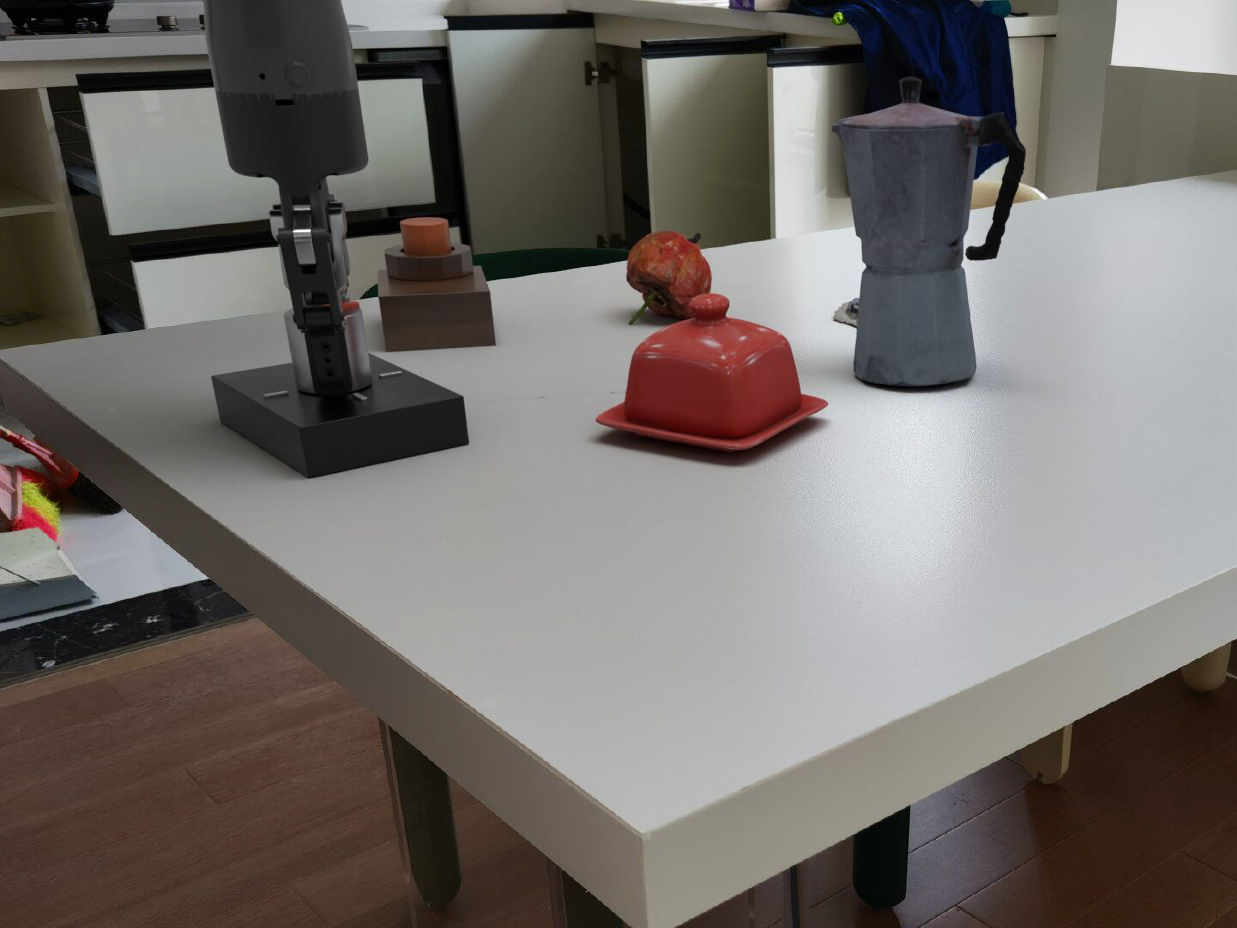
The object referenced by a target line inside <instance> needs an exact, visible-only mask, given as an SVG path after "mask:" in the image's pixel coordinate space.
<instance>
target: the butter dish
mask: <svg viewBox="0 0 1237 928" xmlns="http://www.w3.org/2000/svg"><path fill="white" fill-rule="evenodd" d="M689 308H690V309H691V310H692V311H693V312H694V315H693V316H694V317H693V318H687V319H683V320H682V321H677V322H675V323H671V324H670V325H667V326H665V327H662V328H661V329H658V330H657V331H655V332H653V333H652V334H651V335H649V336H647V337H646V338H644V339H643V341H641V342H640V343H639V345H637V346H636V348H635V349H634V351H633V353H632V355H631V360H630V364H629V368H628V376H627V382H626V388H625V389H626V390H625V397H624V401H623V402H621V403H619V404H617V405H616V404H615V406H612V407H611V408H609V409H607V410H605V411H603V412H602V413H600V414H599V415H597V416H596V417H595V423H597V424H599V425H601V426H605V427H608V428H611V429H616V430H618V431H619V430H620V431H625V432H630V433H634V434H636V435H637V436H641V437H644V438H645V437H646V438H651V439H656V440H661V441H665V442H666V441H667V442H672V443H679V444H684V445H689V446H695V447H700V448H704V449H710V450H716V451H721V452H727V453H732V452H733V453H734V452H737V451H742V450H748V449H750V448H754V447H757V446H758V445H761V444H762V443H764V442H765V441H767V440H769V439H770V438H772V437H774V436H775V435H777V434H779V433H781V432H783V431H784V430H786V429H789V428H790V427H792V426H794V425H796V424H797V423H799V422H801V421H803V420H805V419H807V418H808V417H811V416H812V415H815V414H817V413H819V412H821V411H822V410H824V409H825V408H827V407H828V405H829V402H828V401H827V400H826V399H824V398H820V397H817V396H814V395H809V394H805V393H802V390H801V384H800V379H799V374H798V369H797V366H796V363H795V362H796V361H795V357H794V353H793V350H792V347H791V344H790V341H789V340H788V338H786V336H785V335H783V334H782V333H780V332H779V331H777V330H775V329H774V328H770V327H768V326H764V325H762V324H759V323H755V322H753V321H749V320H745V319H741V318H734V317H728V316H727V313H728V311H729V308H730V299H729V298H727V296H725V295H723V294H719V293H712V292H710V293H707V294H701V295H698V296H696V297H694V298H693V299H692V300H691V301H690V302H689Z"/></svg>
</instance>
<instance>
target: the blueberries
mask: <svg viewBox="0 0 1237 928" xmlns="http://www.w3.org/2000/svg"><path fill="white" fill-rule="evenodd" d="M859 298H860V297H855V298H853V299H852V300H851V301H850V300H849V301H847V302H843V303H841V306H839V307H837V309H835V310H834V315H833V316H834V317H832V318H833V319H832V320H837V321H838V322H841V323H846V324H849V325H853V326H854V327H857V320H858V309H859Z"/></svg>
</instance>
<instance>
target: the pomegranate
mask: <svg viewBox="0 0 1237 928" xmlns="http://www.w3.org/2000/svg"><path fill="white" fill-rule="evenodd" d="M700 240H702V235H701V233H700V232H697V233H695V234H694V235H693V236H692V237H690V238H687V237H685V235H684V234H682V233H679V232H676V231H672V230H659V231H653V232H651V233H649V234H647V235H645V236H643V237H642V238H641V239H640V240H639V241H637V242H636V243H635V244H634V245H633V246H632V248H631V249H630V250H629V253H628V257H627V261H626V275H625V276H626V277H625V279H626V282H627V283H628V285H629V286H630V287H631V288H632V289H633V290H635V291H637V292H638V293H639V294H641V297H642V301H643V302H644V303H643V304H642V306H641V307H640V309H639V310H638V311H637V312H636V313H635V314H634V316H633V317H632V318H631V319H630V320H629V322H628V325H629V326H632V325H633V324H634V323H635V322H636V321H637V320H638V318H639V317H641V315H643V314H644V313H645V311H646V309H647V308H648V309H649V310H650V311H652V312H654V313H656V314H657V315H662V316H670V317H676V318H677V319H680V320H687V319H690V318H691V317H693V316H695V314H694V312H693V311H692V310H691V309H690V308H689V302H690V301H691V300H692V299H693V298H694V297H696V296H698V295H701V294H707V293H711V291H712V280H713V277H712V276H713V275H712V270H711V265H710V263H709V262H708V260H707V258H706V257H705V256H703V253H702V251H701V248H700V245H698V243H699V241H700Z"/></svg>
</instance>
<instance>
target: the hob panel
mask: <svg viewBox="0 0 1237 928" xmlns="http://www.w3.org/2000/svg"><path fill="white" fill-rule="evenodd" d="M368 356H369V362H370V369H371V376H372V383H371V385H369V386H368V387H365V388H363V389H360V390H357V391H352V392H350V393H349V394H346V395H332V396H320V395H318V394H311V393H306V392H302V391H300V390H298V389H297V387H296V382H295V376H294V371H293V365H292V362H288V363H287V362H286V363H282V364H275V365H268V366H263V367H256V368H250V369H245V370H237V371H233V372H226V373H219V374H214V375H213V374H212V375H211V376H210V378H211V383H212V388H213V393H214V399H215V403H216V407H217V408H216V409H217V412H218V417H219V422H220V423H221V424H223V425H225V426H226V427H228V428H229V429H231V430H233V431H235V432H236V433H237V434H239V435H241V436H242V437H243V438H245V439H247V440H248V441H250V442H252V443H253V444H255V445H256V446H258V447H259V448H260V449H262V450H264V451H265V452H267V453H269V454H270V455H272V456H273V457H275V458H276V459H278V460H279V461H281V462H283V463H284V464H286V465H287V466H289V467H290V468H292V469H294V470H295V471H297V472H299V473H300V474H302V475H304V477H306V478H308V479H310V478H315V477H316V478H317V477H319V476H320V477H321V476H325V475H329V474H333V473H338V472H344V471H348V470H352V469H357V468H361V467H367V466H370V465H377V464H379V463H385V462H390V461H394V460H398V459H399V460H400V459H403V458H409V457H412V456H417V455H418V456H419V455H422V454H427V453H432V452H437V451H441V450H444V449H445V450H446V449H451V448H456V447H459V446H460V447H461V446H465V445H468V444H470V438H469V430H468V422H467V414H466V405H465V397H464V395H462V394H460V393H458V392H455V391H453V390H451V389H449V388H447V387H444V386H442V385H440V384H438V383H435V382H434V381H432V380H429V379H427V378H425V377H422V376H420V375H418V374H416V373H414V372H412V371H409V370H407V369H406V368H403V367H401V366H398V365H396V364H394V363H393V362H390V361H388V360H385V359H383V358H381V357H378V356H377V355H374V354H373V353H370V352H368Z"/></svg>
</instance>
